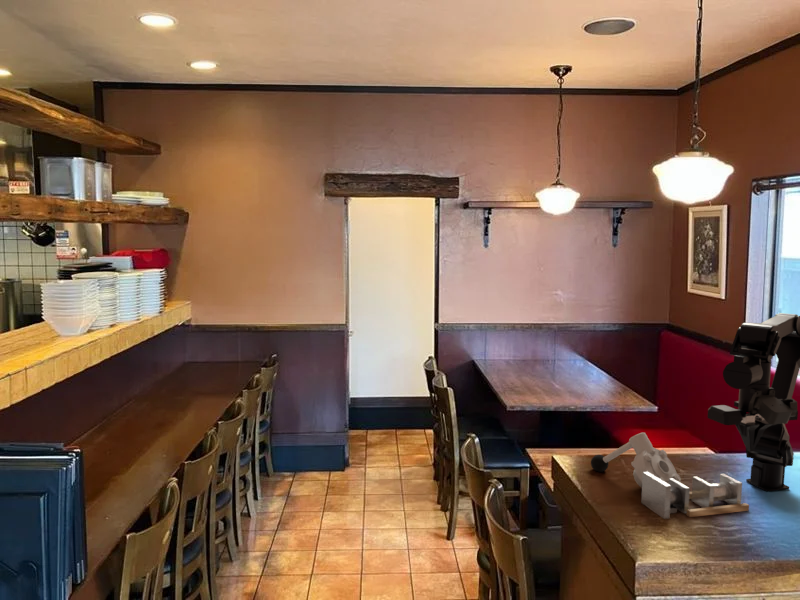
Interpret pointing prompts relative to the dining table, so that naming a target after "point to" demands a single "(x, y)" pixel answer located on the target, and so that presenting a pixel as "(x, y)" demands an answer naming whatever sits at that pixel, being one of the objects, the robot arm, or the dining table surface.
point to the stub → (664, 495)
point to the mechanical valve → (641, 460)
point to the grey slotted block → (716, 491)
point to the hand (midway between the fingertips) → (750, 450)
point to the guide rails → (716, 509)
